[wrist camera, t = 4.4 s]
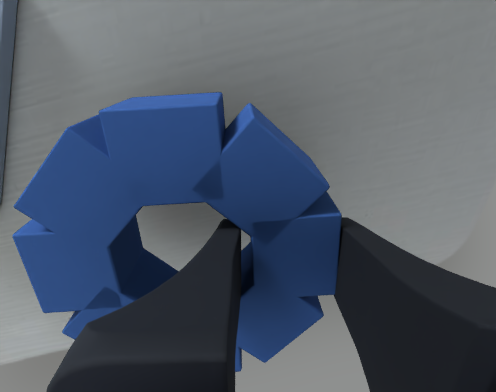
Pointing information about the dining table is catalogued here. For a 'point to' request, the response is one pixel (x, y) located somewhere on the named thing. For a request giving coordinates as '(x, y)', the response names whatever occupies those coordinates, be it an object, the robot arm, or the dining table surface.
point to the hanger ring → (178, 192)
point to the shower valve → (5, 71)
